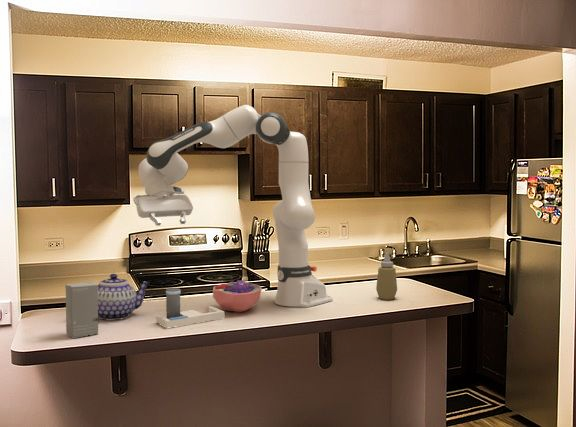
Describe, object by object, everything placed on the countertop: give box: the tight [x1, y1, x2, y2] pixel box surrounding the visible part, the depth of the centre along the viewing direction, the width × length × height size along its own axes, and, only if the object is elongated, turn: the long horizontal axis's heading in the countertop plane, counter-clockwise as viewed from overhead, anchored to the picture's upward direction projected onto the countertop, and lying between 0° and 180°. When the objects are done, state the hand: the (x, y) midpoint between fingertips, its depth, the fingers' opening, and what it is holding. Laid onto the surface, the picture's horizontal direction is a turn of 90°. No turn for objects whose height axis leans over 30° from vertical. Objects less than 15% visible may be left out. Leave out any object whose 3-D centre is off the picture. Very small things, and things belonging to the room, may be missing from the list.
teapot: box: [97, 273, 151, 321], centre depth 205 cm, size 25×15×15 cm, turn 112°
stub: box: [165, 287, 182, 319], centre depth 196 cm, size 5×5×11 cm
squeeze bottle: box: [375, 252, 398, 301], centre depth 230 cm, size 8×8×18 cm
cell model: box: [212, 279, 263, 313], centre depth 213 cm, size 17×20×11 cm
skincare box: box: [64, 282, 99, 339], centre depth 184 cm, size 8×7×16 cm
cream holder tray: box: [155, 306, 226, 329], centre depth 199 cm, size 21×8×3 cm, turn 125°
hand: (171, 223), depth 210 cm, fingers open, 8 cm apart
